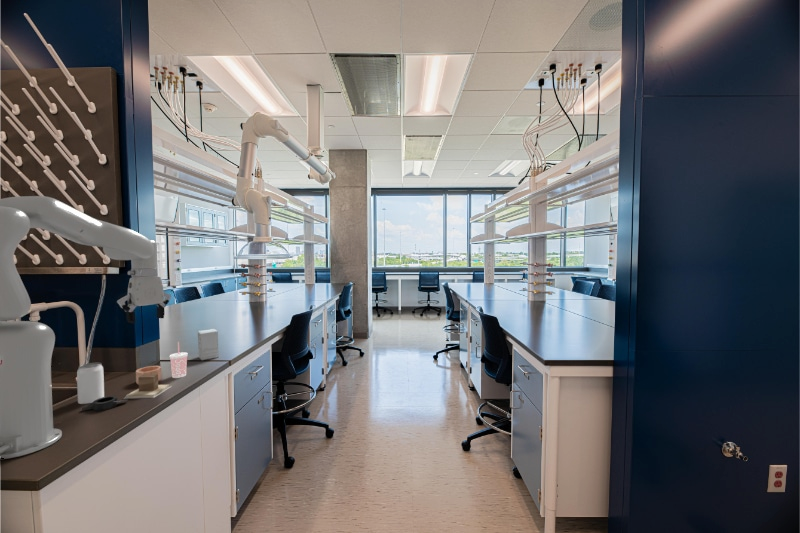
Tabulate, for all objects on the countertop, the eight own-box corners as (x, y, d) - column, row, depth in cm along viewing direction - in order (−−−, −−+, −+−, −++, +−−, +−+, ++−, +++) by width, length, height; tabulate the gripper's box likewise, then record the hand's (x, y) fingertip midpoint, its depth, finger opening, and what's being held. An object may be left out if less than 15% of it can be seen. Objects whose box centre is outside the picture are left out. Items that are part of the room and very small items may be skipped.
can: (88, 405, 109) (87, 368, 108) (72, 404, 110) (71, 367, 109) (109, 397, 115) (108, 362, 114) (94, 396, 116) (93, 361, 116)
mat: (154, 398, 114) (154, 397, 114) (123, 399, 113) (123, 398, 113) (172, 387, 124) (172, 386, 124) (143, 388, 123) (143, 386, 123)
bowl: (152, 385, 125) (152, 372, 125) (131, 386, 125) (130, 372, 125) (165, 378, 133) (165, 365, 133) (145, 378, 132) (145, 366, 132)
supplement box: (215, 354, 165) (214, 328, 165) (218, 357, 160) (218, 330, 159) (198, 357, 161) (197, 330, 160) (200, 360, 155) (200, 333, 155)
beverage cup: (167, 380, 131) (166, 344, 130) (173, 374, 137) (172, 340, 136) (185, 378, 132) (184, 343, 132) (190, 373, 138) (189, 339, 138)
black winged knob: (100, 403, 111) (100, 394, 111) (131, 403, 111) (130, 394, 111) (78, 414, 103) (77, 405, 103) (110, 414, 103) (110, 405, 103)
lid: (153, 396, 114) (153, 379, 114) (125, 397, 114) (125, 380, 113) (170, 386, 123) (169, 370, 123) (144, 387, 123) (143, 371, 122)
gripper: (123, 275, 113) (125, 325, 114) (175, 272, 129) (177, 317, 130) (110, 274, 116) (112, 324, 117) (163, 272, 132) (164, 315, 133)
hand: (146, 320), depth 123 cm, fingers open, 9 cm apart
